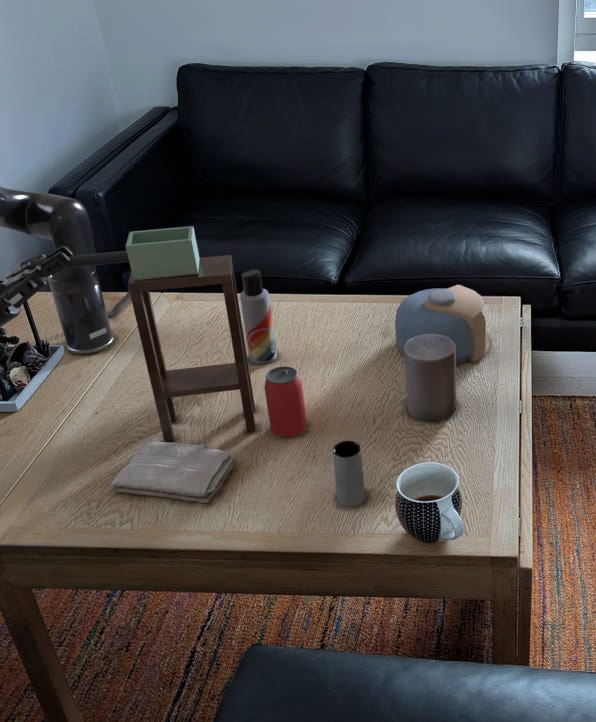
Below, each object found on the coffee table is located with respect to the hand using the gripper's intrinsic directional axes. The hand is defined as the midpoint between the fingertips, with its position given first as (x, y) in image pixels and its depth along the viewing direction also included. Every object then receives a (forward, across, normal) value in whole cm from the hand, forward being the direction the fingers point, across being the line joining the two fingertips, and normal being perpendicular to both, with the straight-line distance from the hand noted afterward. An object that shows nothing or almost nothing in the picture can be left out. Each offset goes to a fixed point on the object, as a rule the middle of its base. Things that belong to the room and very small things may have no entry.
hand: (67, 253), depth 132 cm
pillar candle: (+32, -4, +60) cm, 68 cm away
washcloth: (-8, -14, +37) cm, 41 cm away
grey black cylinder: (+16, -27, +51) cm, 60 cm away
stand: (-4, 0, +40) cm, 40 cm away
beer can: (+9, -5, +47) cm, 48 cm away
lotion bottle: (+5, +22, +45) cm, 50 cm away
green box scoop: (+4, 0, +7) cm, 8 cm away
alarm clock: (+38, +19, +64) cm, 77 cm away
